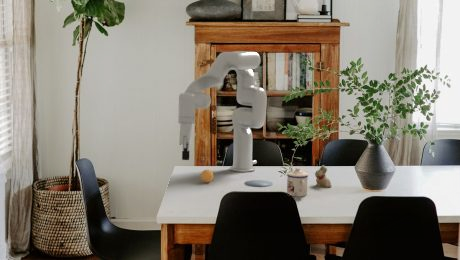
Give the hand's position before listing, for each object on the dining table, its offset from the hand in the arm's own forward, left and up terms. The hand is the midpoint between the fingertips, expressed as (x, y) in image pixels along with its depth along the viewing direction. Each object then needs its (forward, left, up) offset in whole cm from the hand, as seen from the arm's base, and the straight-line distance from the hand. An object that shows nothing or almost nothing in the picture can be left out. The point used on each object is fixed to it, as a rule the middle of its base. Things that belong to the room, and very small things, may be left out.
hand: (185, 159), depth 319 cm
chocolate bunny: (-36, +52, -11) cm, 64 cm away
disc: (-20, +27, -11) cm, 35 cm away
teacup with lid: (-13, +53, -11) cm, 56 cm away
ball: (-6, +8, -8) cm, 13 cm away
